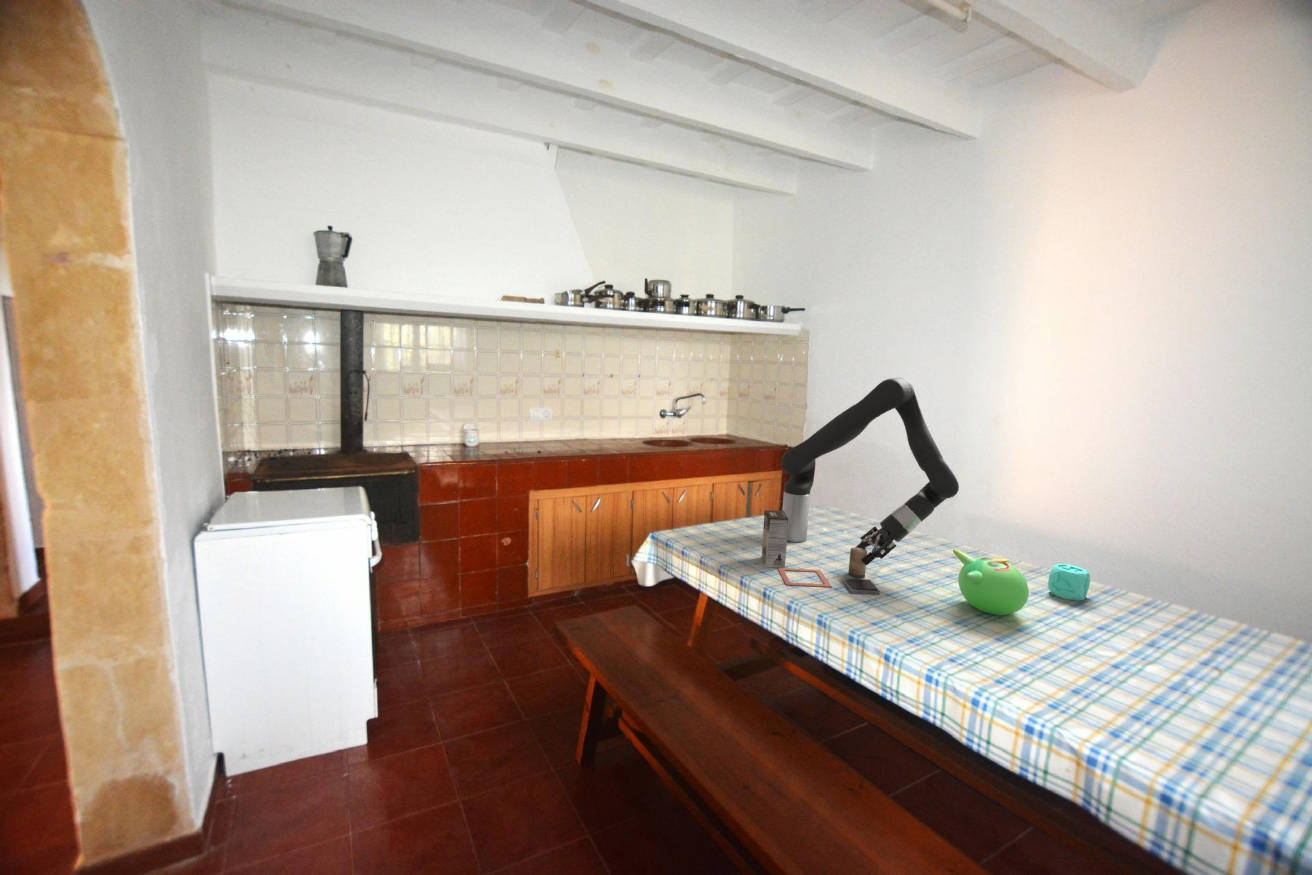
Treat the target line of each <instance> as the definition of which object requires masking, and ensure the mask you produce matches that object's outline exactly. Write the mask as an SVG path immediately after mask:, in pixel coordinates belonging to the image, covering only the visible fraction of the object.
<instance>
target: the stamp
mask: <svg viewBox="0 0 1312 875" xmlns="http://www.w3.org/2000/svg"><path fill="white" fill-rule="evenodd" d="M849 552H850V553H849V564H848V573H847V574H848V576H850V577H851V578H853V579H865V578H866V569H867V565H865V564H864V563H863V562H862V561H861V559H862V558H863V557H865V556H866V555H867V554H868V550H867V549H862V548H855V547H851V548H850V551H849Z"/></svg>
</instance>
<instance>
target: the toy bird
mask: <svg viewBox="0 0 1312 875" xmlns="http://www.w3.org/2000/svg"><path fill="white" fill-rule="evenodd" d="M952 552H953V554H954V555H955V557H956V558H957V559H958V560H959V561H960V562H961V564H963V565H962V567H961V568H960V570H959V574H958V578H957V580H958V587H959V590H960V593H961V594H962V596H963V597H964V599H965V600H966V601H967V603H969V604H970V605H971V606H972V607H974V608H976V609H977V610H979V611H981V612H984V613H988V614H990V615H999V616H1002V615H1004V616H1006V615H1010V614H1011V615H1012V614H1014V613H1017V612H1019V611H1020V610H1021V609H1023V607H1025V605H1026V604H1027V602H1028V601H1029V600H1028V599H1029V593H1030V592H1029V585H1028V581H1027V580H1026V578H1025V576H1024V575H1023V573H1022V572H1021V571H1020V570H1019V569H1018V568H1017V567H1016V566H1014V565H1013V564H1011V563H1010V561H1011V559H1008V558H995V557H994V558H993V557H977V558H974V557H972V556H970V555H968V554H967V553H964V552H962V551H960V550H958V549H953V550H952Z"/></svg>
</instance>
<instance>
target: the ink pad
mask: <svg viewBox="0 0 1312 875" xmlns="http://www.w3.org/2000/svg"><path fill="white" fill-rule="evenodd" d="M842 583H843V585H844V586H845V587H846V589H847V590H848V591H849V593H850V594H863V595H864V594H865V595H880V594H881V590H880V589H879V588H878V587H877V586H876V584H874V582H872V580H871V579H865V578H842Z"/></svg>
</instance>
